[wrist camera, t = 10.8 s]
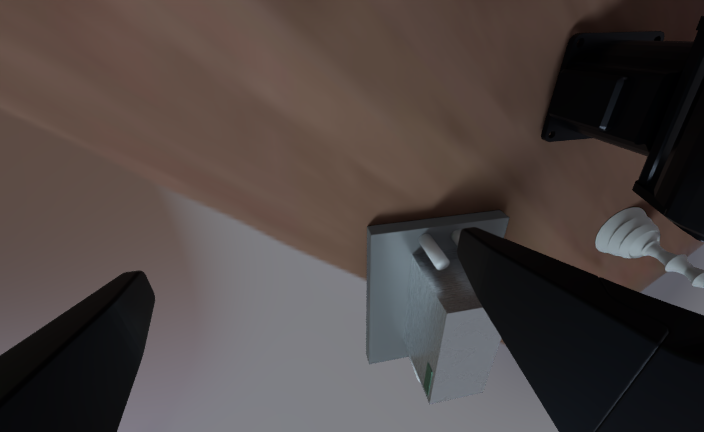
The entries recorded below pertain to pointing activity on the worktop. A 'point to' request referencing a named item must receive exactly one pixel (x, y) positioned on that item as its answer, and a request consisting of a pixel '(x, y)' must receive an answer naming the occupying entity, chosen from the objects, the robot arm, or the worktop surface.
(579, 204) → the worktop surface
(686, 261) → the chalice
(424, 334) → the block
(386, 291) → the grey peg plate
